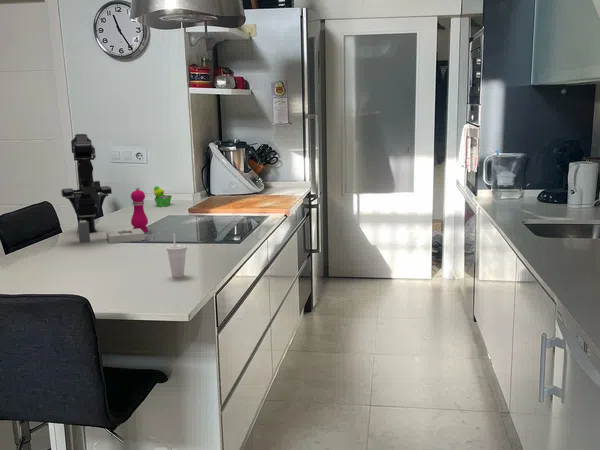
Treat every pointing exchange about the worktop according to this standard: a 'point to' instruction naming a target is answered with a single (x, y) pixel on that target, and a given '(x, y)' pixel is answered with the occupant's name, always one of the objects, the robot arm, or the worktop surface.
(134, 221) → the pepper mill
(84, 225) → the plug
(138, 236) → the socket plate
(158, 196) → the fruit basket
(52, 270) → the worktop surface
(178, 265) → the smoothie
